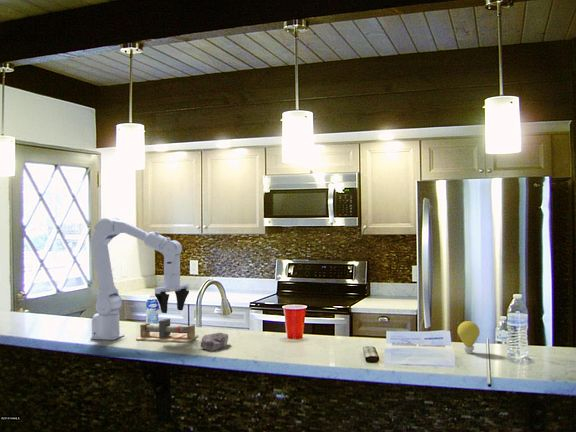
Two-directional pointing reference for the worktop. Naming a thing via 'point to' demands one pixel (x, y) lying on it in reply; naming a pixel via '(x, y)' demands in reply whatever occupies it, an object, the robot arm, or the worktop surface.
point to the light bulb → (468, 335)
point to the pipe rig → (148, 328)
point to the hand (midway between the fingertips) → (172, 311)
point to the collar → (163, 327)
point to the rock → (214, 341)
